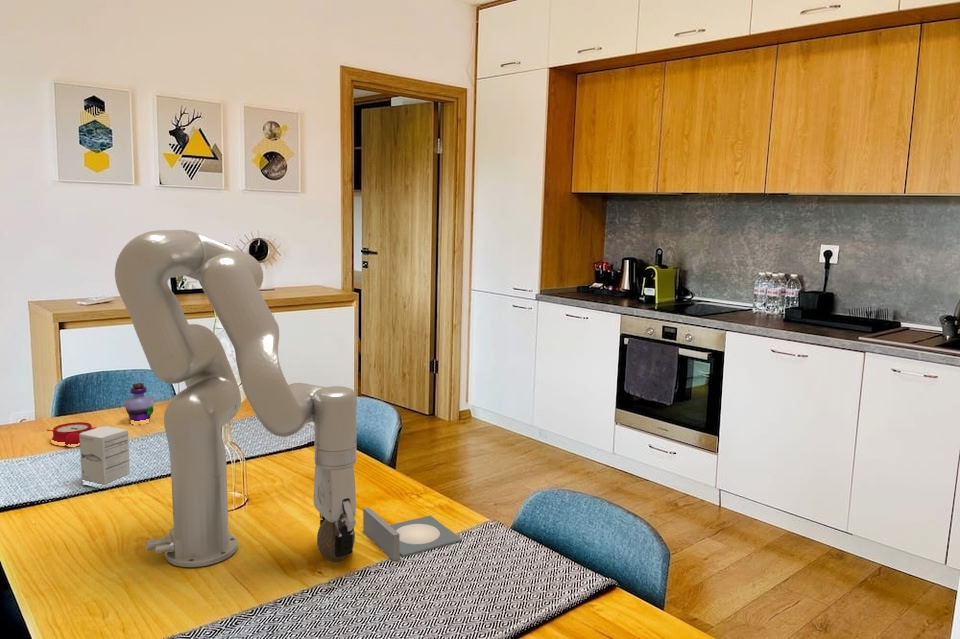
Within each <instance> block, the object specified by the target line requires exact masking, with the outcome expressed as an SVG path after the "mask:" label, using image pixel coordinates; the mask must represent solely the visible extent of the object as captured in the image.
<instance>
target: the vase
mask: <svg viewBox="0 0 960 639" xmlns="http://www.w3.org/2000/svg"><path fill="white" fill-rule="evenodd" d="M340 518H345V516H344V514H343V515H340V517H339V519H340ZM345 523H346V521H343V522H340V526H341V528H342V527H343V525H345ZM317 530H318V531H317V533H316V534H317V535H316V544H317V548H318V551H319V553H320V555H322V557H323V558H324V559H326V560H327V561H331V562H338V561H342V560H345V559H346V558H347V557H348V556H349V555H345V556H341V557H336V556H335V536H336V535H337V532H336V526H335V522H334V523H330V522H329V521H328V520H326V519H325V520H324V521H323V522H322V524H321V525H320V524H319V528H318V529H317ZM355 541H356V533H355V529H354V530H353V547H354V545H355Z"/></svg>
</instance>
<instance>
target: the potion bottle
mask: <svg viewBox="0 0 960 639" xmlns="http://www.w3.org/2000/svg"><path fill="white" fill-rule="evenodd" d="M144 384H145V383H143V382H137V383H133V384H132V387H131V388H130V394H132V395H133V397H130V398H127V399H124V400H123V404H124V407H125V410H126V413H127V416H128V417H129V421H130V420H134V421H140V420H146V419H149V418H150V419H151V416H152V414H153V413H154V405H155V399H154V397H151V396H150V397H149V396H145V393H148V392H147V387H146V386H145V385H144Z"/></svg>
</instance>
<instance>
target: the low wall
mask: <svg viewBox="0 0 960 639" xmlns="http://www.w3.org/2000/svg"><path fill="white" fill-rule="evenodd" d="M362 509H363V510H362V511H363V515H362V516H363V517H362V518H363V519H362V521H363V522H362V524H363V525H362V528H363V529H362V531H363V533H364V534H365V535H366V536H367V537H368V538H369V539H370V540H371V541H372V542H373V543H374V544H375V545H376V546H377V547H378V548H379V549H381V550H382V551H383V553H385V555H387V556H388V557H389V558H390V559H391V561H393V562H394V561H399V560H400V554H399V543H400V534H399V533H398V532H397V531H396V530H394V529H393V528H392V527H391V526H390V525H391V524H389V523H388V522H386V521H385V520H384V519H383V518H382V517H381V516H380V515H378V513H376V512H375V511H374V510H373V509H371V507H369V506H367V507H363V508H362Z"/></svg>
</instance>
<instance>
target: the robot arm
mask: <svg viewBox="0 0 960 639" xmlns="http://www.w3.org/2000/svg"><path fill="white" fill-rule="evenodd" d="M114 267H115V268H114V279H115V284H116V289H117V292H118V294H119V296H120V298H121V300H122V302H123V305H124V306H125V309H126V311H127V313H128V315H129V318H130V320H131V323H132V325H133V327H134V331H135V333H136V335H137V338H138V340H139V343H140V346H141V348H142V350H143V353H144V356H145V358H146V360H147V363H148V364H149V367H150V370H151V372H152V373H153V375H154V376H155V377H156V378H157V380H159V381H161V382H162V383H164V384H168V385H169V384H170V385H173V384H174V385H176V384H180V383H183V382H184V384H185V386H186V388H184V389H183V390H181V391H179V392H178V393H177V394H175V395H174V396H173V397H172V398H171V400H170V401H169V402H168V404H167V406H166V407H165V411H164V416H163V424H164V431H165V435H166V439H167V444H168V450H169V460H170V476H171V477H170V478H171V499H172V502H171V504H172V523H173V524H172V525H173V527H172V528H169V534H165V535H164V536H163V537H159V538H152V539H148V540H145V550H146V552H151V551H154V550H155V554H156V555H157V554H163V553H164V554H165V556H164V557H165V559H166V561H167V562H168V563H170V564H171V565H174V566H177V567H180V568H181V567H183V568H200V567H206V566H211V565H215V564H217V563H220V562H222V561H225V560H227V559H228V558H230V557H232V556H233V555H234V554H235V552H236V551H237V549H238V548H239V546H238V539H237V538H236V536H234V535H233V534H231V533H230V531H229V504H228V501H229V498H228V497H229V496H228V469H227V468H228V467H227V453H226V447H225V443H224V440H223V436H222V428H223V427H224V426H225V425H226V424H228V423H229V422H230V421H231V420H232V419H233V418H234V417H236V415H237V414H238V412H239V411H240V409H241V403H242V395H241V390H240V387H239V384H238V381H237V379H236V376H235V374H234V371H233V369H232V367H231V363H230V361H229V359H228V357H227V353H226V351H225V349H224V347H223V344H222V342H221V340H220V339H219V338H218V336H217V335H216V333H214V332H213V331H212V330H211V329H209V328H208V327H206V326H205V325H201V324H196V323H195V324H194V323H191V324H189V322H188V320H187V318H186V317H187V316H186V315H185V312H184V311H183V310H184V309H183V306H182V305H181V303H180V300H179V298H178V297H177V296H176V295H175V293H174V292H173V291H172V290H171V287H170V286H169V284H168V282H169V280H170V279H171V278H178V277H188V278H190V279H194V280H196V281H198V282H199V283H200V286H201V289H202V290H203V293H204V295H205V296H206V298H207V300H208V302H209V303H210V304H209V305H210V306H211V308H212V309H213V312H214V313H215V315H216V316H217V319H218V320H219V322H220V324H221V326H222V327H223V330H224V332H225V333H226V335H227V337H228V339H229V341H230V343H231V345H232V346H233V349H234V353H235V361H236V366H237V369H238V376H239V380H240V383H241V387H242V390H243V392H244V395H245V397H246V399H247V401H248V403H249V404H250V407H251V408H252V411H253V412H254V413H255V416H256V417H257V418H258V421H259V422H260V423H261V425H262V427H264V428H265V430H266V431H267V432H269V433H270V434H271V435H273V436H276V437H280V438H288V437H291V436H294V435H296V434H297V433H298V432H300V431H301V430H302V429H303V428H304V427H305V425H307V424H309V423H313V425H314V426H313V427H314V429H313V430H314V440H313V441H314V465H315V466H314V475H313V476H314V478H313V479H314V480H313V506H314V508H315V509H316V511H318V513H319V519H320V520H319V526H320V525H321V524H322V522H323V521H324V520H325V519H326V520H328V521H329V522H330V523H334V522H335V526H336V532H337V535H336V536H335V556H336V557H341V556H345V555H348V556H349V555H352V554H353V552H354V551H353V550H354V546H353V530H354V531H355V527H356V523H357V522H356V518H355V516H356V513H357V512H356V511H357V494H356V478H355V477H356V476H355V467H354V465H356V464H357V462H358V461H357V439H358V438H357V406H358V405H357V394H356V392H355V391H354V390H353V389H352V388H350V387H347V386H341V385H340V386H339V385H337V386H336V385H335V386H331V385H330V386H327V387H326V386H320V385H315V384H310V383H306V382H293V383H290V384H288V382H287V380H286V378H285V376H284V374H283V370H282V368H281V363H280V360H279V341H280V328H279V325H278V324H279V323H277V320H276V319H275V317H274V315H273V313H272V311H271V310H270V308H269V306H268V304H267V302H266V300H265V298H264V296H263V295H262V292H261V291H260V288H261V286H262V284H263V282H264V272H263V267H262V265H261V264H260V263H259V261H258V260H257V259H256V258H255V257H254V256H253V255H251V254H250V253H247V252H245V251H243V250H240V249H238V248H235V247H234V246H233V247H232V246H230V245H227V244H225V243H222V242H220V241H217V240H215V239H212V238H210V237H208V236H205V235H203V234H200V233H198V232H194V231H192V230H187V229H168V230H167V229H161V230H152V231H148V232H144V233H142V234H139V235H137V236H136V237H133V239H131V240H130V241H129V242H127V243H126V244H125V246H124V247H123V248H122V250H121V251H120V253H119V254H118V257H117V259H116V262H115V266H114ZM343 514H344V516H345V518H340V519H339V517H340V515H343ZM343 521H346V523H345V525H343V527H342V528H341V526H340V522H343Z"/></svg>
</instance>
